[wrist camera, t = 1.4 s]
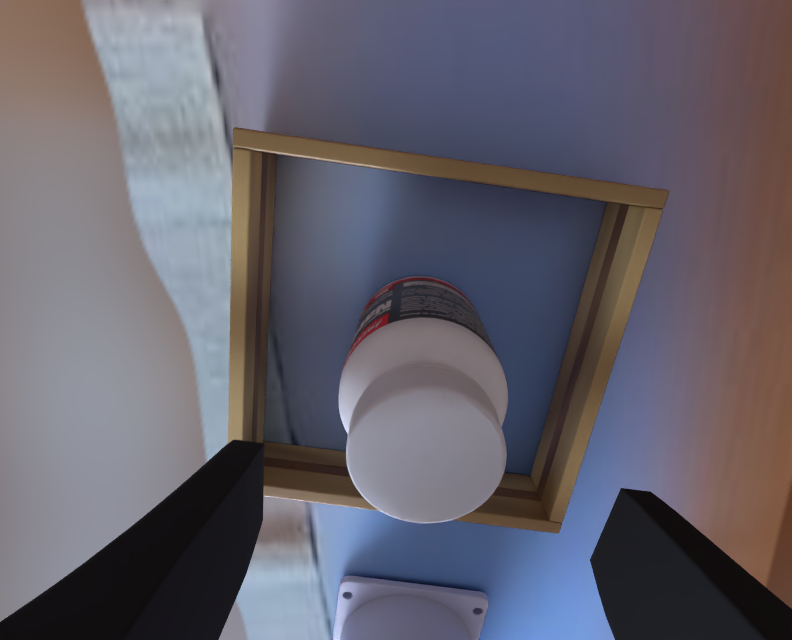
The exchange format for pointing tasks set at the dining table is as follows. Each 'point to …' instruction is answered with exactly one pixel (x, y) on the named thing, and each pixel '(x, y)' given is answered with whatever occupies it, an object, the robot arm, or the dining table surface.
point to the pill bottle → (423, 403)
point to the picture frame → (582, 364)
